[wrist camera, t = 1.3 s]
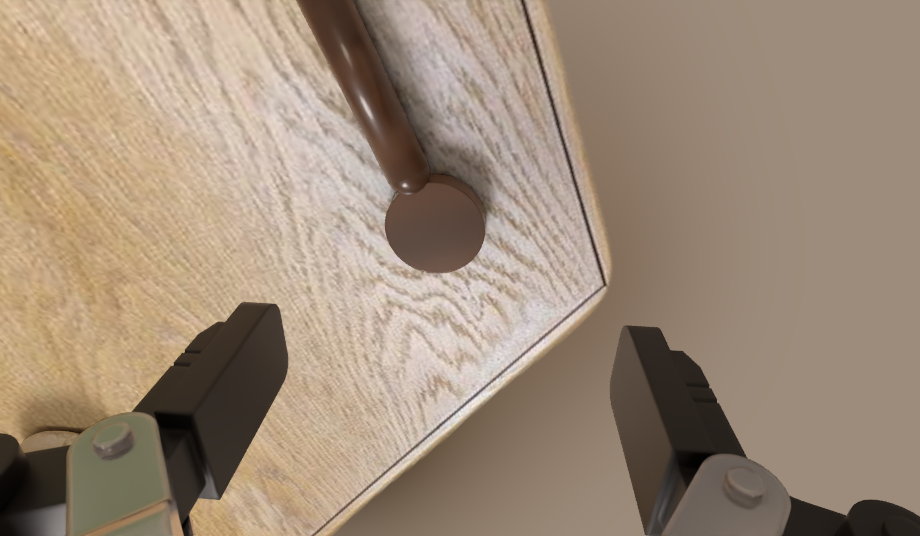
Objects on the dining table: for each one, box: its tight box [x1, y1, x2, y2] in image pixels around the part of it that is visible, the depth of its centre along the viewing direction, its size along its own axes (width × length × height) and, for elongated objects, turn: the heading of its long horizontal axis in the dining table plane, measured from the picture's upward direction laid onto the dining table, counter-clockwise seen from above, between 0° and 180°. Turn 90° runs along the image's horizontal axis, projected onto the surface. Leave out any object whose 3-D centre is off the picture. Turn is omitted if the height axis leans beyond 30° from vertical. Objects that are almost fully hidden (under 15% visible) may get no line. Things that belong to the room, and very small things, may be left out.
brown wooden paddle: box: [296, 0, 486, 273], centre depth 22 cm, size 17×5×2 cm, turn 23°
